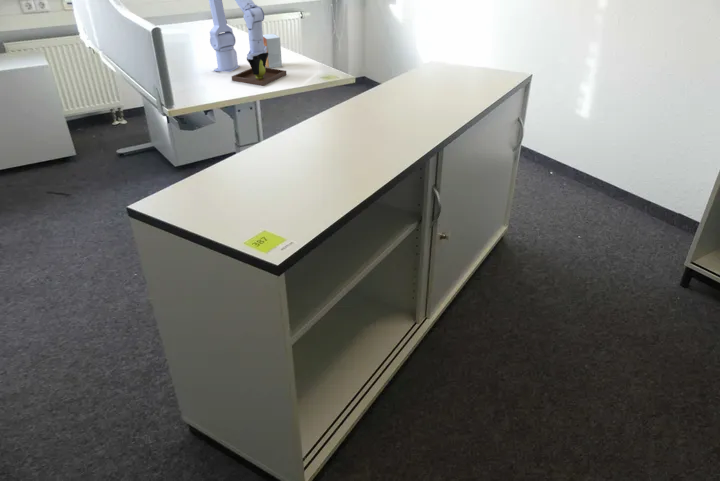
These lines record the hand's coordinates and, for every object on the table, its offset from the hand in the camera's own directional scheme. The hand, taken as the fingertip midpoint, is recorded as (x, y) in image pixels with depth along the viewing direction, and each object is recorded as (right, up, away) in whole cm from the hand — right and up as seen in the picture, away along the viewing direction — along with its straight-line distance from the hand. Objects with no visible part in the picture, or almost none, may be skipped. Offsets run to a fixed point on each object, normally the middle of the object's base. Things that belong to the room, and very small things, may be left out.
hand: (259, 72), depth 233 cm
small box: (+3, +8, +18) cm, 20 cm away
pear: (0, -2, +1) cm, 2 cm away
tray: (0, -2, +1) cm, 3 cm away
